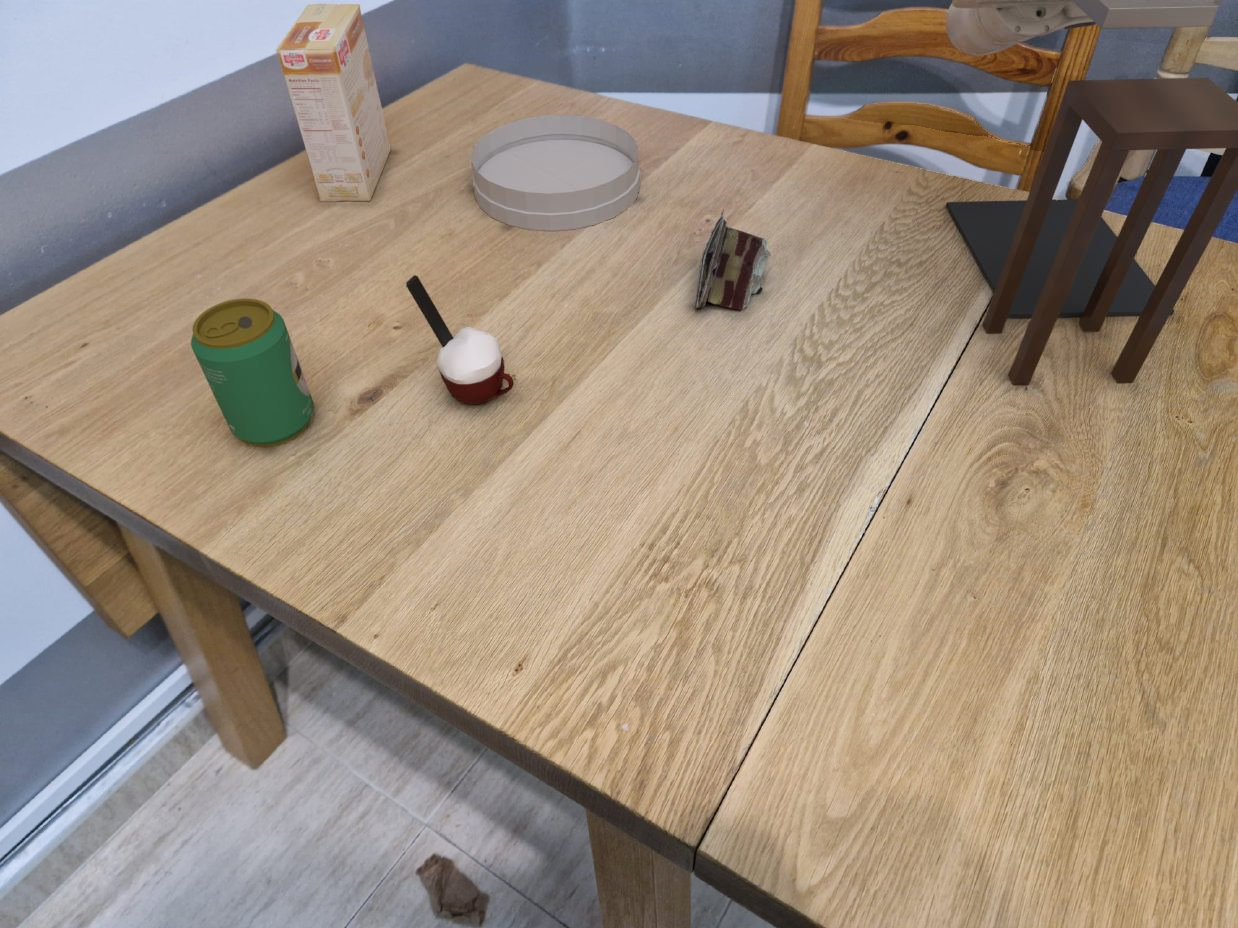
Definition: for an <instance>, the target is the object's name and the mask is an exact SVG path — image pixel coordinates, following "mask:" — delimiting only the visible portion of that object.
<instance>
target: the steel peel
mask: <svg viewBox="0 0 1238 928" xmlns="http://www.w3.org/2000/svg"><path fill="white" fill-rule="evenodd" d="M1071 1H1072V2H1073V3H1075V4H1076V5H1077V6H1078V7H1079V8H1080V9H1081V10H1082V11H1083V12H1084V13H1085V14H1086V15H1088V16H1089V17H1090V18H1091V19H1092V20H1093V21H1094V22H1095V23H1096V24H1097V25H1096V26H1098V27H1099V28H1100V29H1101V30H1117V29H1118V30H1120V29H1125V30H1126V29H1165V28H1169V29H1170V28H1173V29H1174V28H1210V27H1211V26H1212V23H1213V21H1214V19H1215V17H1216V14H1217V13H1218V10H1219V8H1220V6H1219V5H1218V4H1216V3H1215V2H1214V1H1213V0H1071Z"/></svg>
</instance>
